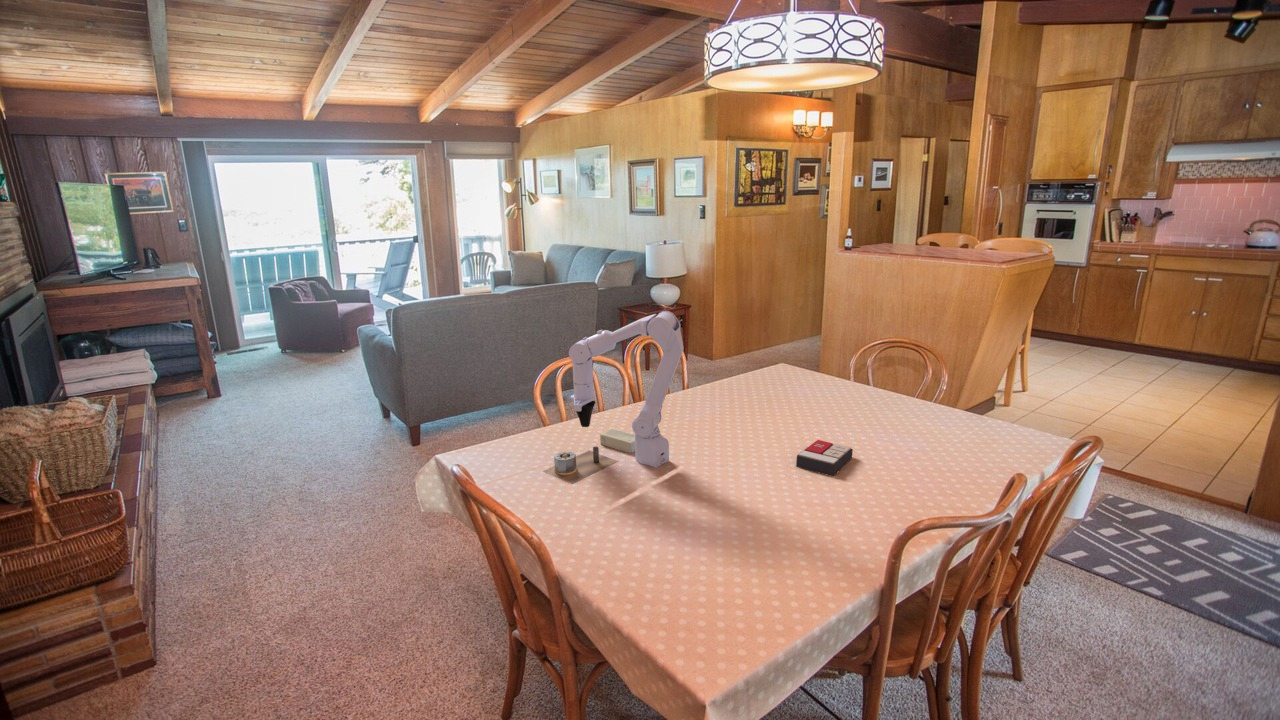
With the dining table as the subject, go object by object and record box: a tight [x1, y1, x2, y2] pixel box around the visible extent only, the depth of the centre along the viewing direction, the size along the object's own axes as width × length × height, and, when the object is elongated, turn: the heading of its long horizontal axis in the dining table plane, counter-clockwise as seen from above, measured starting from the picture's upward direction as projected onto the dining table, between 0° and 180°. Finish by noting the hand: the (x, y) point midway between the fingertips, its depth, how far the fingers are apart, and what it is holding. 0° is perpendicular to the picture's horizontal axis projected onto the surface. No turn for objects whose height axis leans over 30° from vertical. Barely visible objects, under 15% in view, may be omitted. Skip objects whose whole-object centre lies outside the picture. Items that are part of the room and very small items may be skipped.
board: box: [542, 446, 619, 485], centre depth 175 cm, size 12×18×6 cm, turn 139°
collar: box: [553, 450, 577, 473], centre depth 173 cm, size 6×6×4 cm
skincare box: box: [599, 428, 635, 454], centre depth 189 cm, size 6×4×12 cm
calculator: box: [795, 439, 854, 477], centre depth 177 cm, size 11×4×15 cm
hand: (585, 426), depth 182 cm, fingers closed
